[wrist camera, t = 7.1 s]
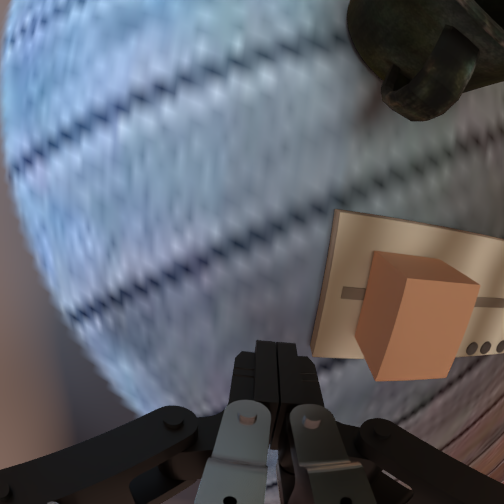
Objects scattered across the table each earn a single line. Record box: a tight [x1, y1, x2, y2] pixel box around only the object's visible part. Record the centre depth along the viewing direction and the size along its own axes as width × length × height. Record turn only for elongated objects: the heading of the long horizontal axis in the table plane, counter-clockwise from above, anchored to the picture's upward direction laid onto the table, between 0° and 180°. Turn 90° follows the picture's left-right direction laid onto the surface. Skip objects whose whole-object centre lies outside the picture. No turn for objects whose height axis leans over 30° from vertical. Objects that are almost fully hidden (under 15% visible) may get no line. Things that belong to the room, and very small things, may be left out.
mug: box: [347, 0, 504, 121], centre depth 10 cm, size 11×15×12 cm
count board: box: [310, 209, 504, 359], centre depth 20 cm, size 30×10×2 cm, turn 84°
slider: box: [354, 251, 481, 381], centre depth 16 cm, size 5×6×5 cm
